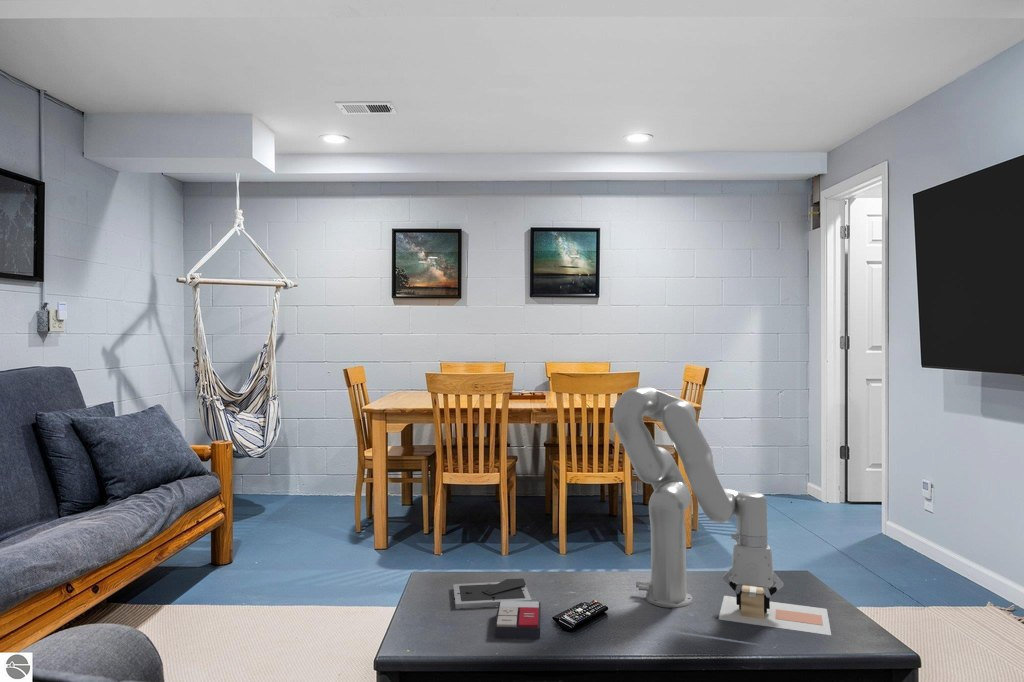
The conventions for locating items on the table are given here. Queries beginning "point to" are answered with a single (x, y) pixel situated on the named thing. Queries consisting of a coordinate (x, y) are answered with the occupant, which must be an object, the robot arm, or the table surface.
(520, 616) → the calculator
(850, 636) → the table surface
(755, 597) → the card box
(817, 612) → the mat
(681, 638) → the table surface
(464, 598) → the picture frame
